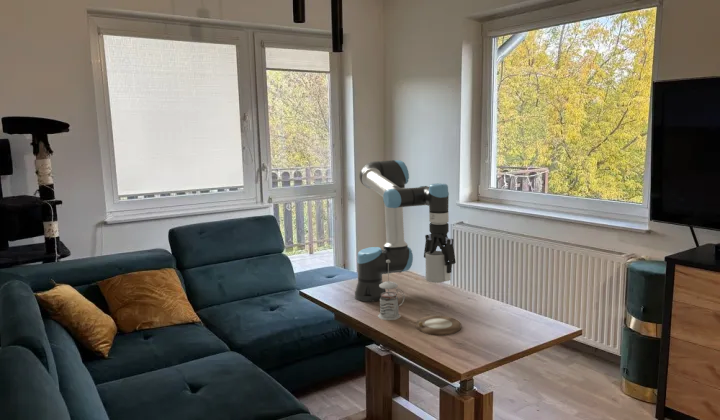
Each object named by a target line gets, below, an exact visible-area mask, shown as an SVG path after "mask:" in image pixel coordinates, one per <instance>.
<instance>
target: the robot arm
mask: <svg viewBox="0 0 720 420" xmlns="http://www.w3.org/2000/svg"><path fill="white" fill-rule="evenodd" d="M409 173H410V172H409V169H408V166H407V165H406V163H405V162H404V161H402V160H397V159H395V160H381V161H380V160H377V161H376V160H374V161H370V162H367V163H366V164H365V165H364V166H362V168H361V169H360V171H359V181H360V183H361V184H362V186H364V187H365V188H367V189H372V190H373V191H374V192H375V193H377V194H378V195H379V196H380V197H382V198H383V203H384V219H385V238H386V242H384V244H383V249H382V248H381V247H379V246H374V247H373V246H371V247H366V248H363V249H360V250H359V251H358V252H357V259H356V262H357V284H356V286H355V291H354V298H355V299H356V300H358V301H362V302H377V301H378V302H380V297H381V293H383V292H387V291H386V290H387V289H382V288H380V287H379V285H380V284H381V283H383V282H384V281H383V275H388V264H389V274H396V273H405V272H408V271H410V269H411V267H412V265H413V260H414V257H413V256H414V255H413V250H412V249H411V247H410V246H408V245H409V244H408V243H407V242H406V241H405V230H404V229H405V228H404V211H403V208H408V207H420V206H428V208H429V209H428V210H429V212H428V213H429V215H428V216H429V228H428V229H429V234H425V235H424V236H425V245H424V252H423V258H424V259H426V257H425V254H426V252H429V251H430V253H431V254H432V253H433V252H434V251H437V249H438V247H439V249H440V251H442V254H443V255H444V260H445V263H446V264H445V265H444V281H445V282H449V281H451V278H452V277H451V273H452V272H453V271H452V268H451V266H452V267H453V265H454V264H456V256H455V255H456V254H455V248H454V238H449V237H448V233H449V226H450V225H449V201H450V200H449V195H450V193H449V186H448V184H446V183H440V182H439V183H431V184H429V186H428V185H420V186H417V187H405V185H406V184H408V182H409V179H410V174H409ZM386 260H390V263H386Z"/></svg>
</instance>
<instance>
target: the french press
mask: <svg viewBox="0 0 720 420" xmlns="http://www.w3.org/2000/svg"><path fill="white" fill-rule="evenodd" d="M386 263H390V260H386ZM389 274H390V273H389V264H388V274H387V277H388V278H387V279H388V281H382V282H383V283H381V284H380V285H379V287H380V288H382V289H385V290H387V291H386V292H383V293H381V297H380V300H379V314H378V315H377V317H378V319H380V320H384V321H395V320H398V319H400V318H401V314H400V313H399V312H400V311H399V307H400V306H402V305H403V304H404V302H405V293H404V291H403V290H402V289H400V288H398V286H399V284H398V283H396V282H395V281H391V280H390V277H389ZM396 288H397V292H401V296H402V302H401V303H399V297H398V293H397V292H394V291H390V290H394V289H396Z"/></svg>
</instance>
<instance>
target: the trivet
mask: <svg viewBox="0 0 720 420" xmlns="http://www.w3.org/2000/svg"><path fill="white" fill-rule="evenodd" d="M415 327H416V329H417V331H420V332H421V333H424V334H426V335H427V334H428V335H431V336H432V335H433V336H447V335H449V336H450V335H452V334H456V333H458V332H459V331H461V328H462V323H461V321H460V320H458V319H456V318H454V317H450V316H445V315H428V316H424V317H423V316H422V317H421V318H419V319H417V320H416V322H415Z"/></svg>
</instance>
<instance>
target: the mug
mask: <svg viewBox="0 0 720 420" xmlns="http://www.w3.org/2000/svg"><path fill="white" fill-rule="evenodd" d="M425 257H426V258H425V280H426V281H427V282H429V283H435V284H438V283H445V282H446V281H444V265H445V264H446V263H445V260H444V255H443V254H442V251H441V250H436V251H434V252H433V253H432V254H431V253H430V251H429V252H426V254H425ZM452 268H453V265H452V266H451V269H452Z"/></svg>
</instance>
